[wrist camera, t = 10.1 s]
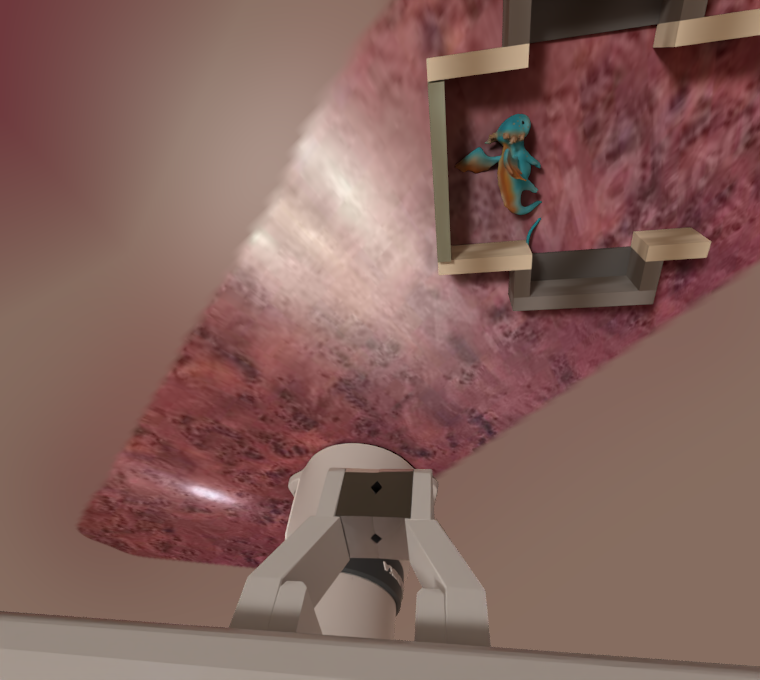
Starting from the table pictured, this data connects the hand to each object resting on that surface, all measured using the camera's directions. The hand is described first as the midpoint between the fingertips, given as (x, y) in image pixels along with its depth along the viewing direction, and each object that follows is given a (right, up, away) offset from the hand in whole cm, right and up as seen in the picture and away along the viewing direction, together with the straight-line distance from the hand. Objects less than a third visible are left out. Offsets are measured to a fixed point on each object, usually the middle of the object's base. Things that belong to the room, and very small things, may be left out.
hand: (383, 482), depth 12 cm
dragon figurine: (+10, +17, +20) cm, 28 cm away
